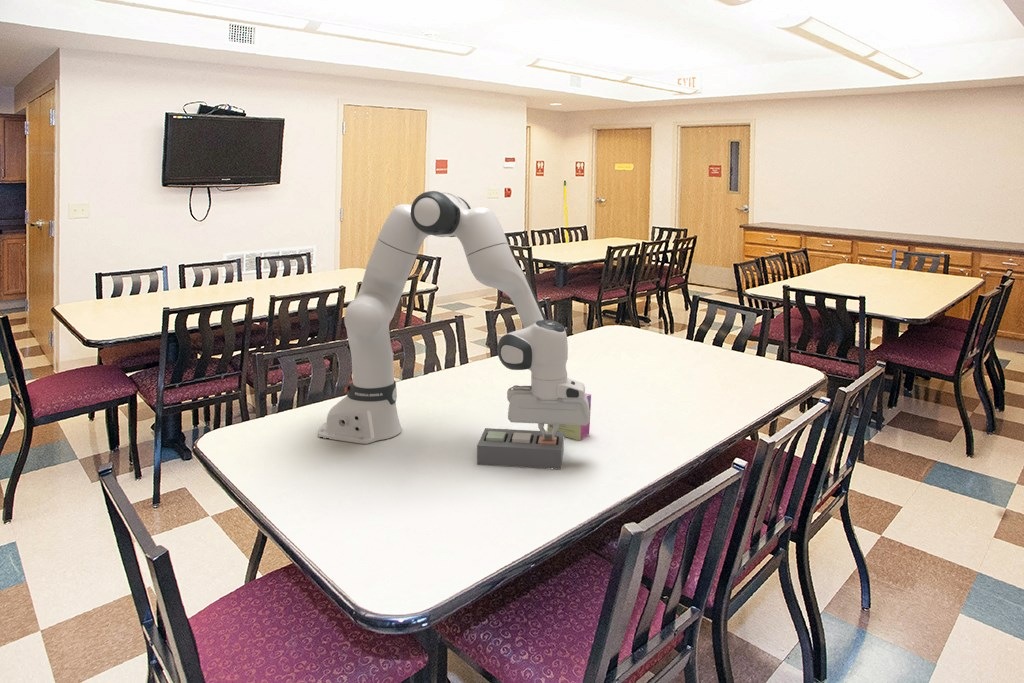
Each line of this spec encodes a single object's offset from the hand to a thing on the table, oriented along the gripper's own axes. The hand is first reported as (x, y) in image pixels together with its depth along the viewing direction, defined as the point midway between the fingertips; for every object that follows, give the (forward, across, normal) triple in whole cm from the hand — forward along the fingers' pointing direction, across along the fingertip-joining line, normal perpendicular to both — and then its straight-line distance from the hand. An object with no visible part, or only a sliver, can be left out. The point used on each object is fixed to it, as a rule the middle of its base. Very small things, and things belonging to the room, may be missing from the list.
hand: (548, 439), depth 172 cm
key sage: (+1, -13, 0) cm, 13 cm away
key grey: (+1, -7, 0) cm, 7 cm away
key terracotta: (+2, 0, 0) cm, 2 cm away
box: (+5, +4, +18) cm, 19 cm away
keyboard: (+5, -7, 0) cm, 8 cm away
